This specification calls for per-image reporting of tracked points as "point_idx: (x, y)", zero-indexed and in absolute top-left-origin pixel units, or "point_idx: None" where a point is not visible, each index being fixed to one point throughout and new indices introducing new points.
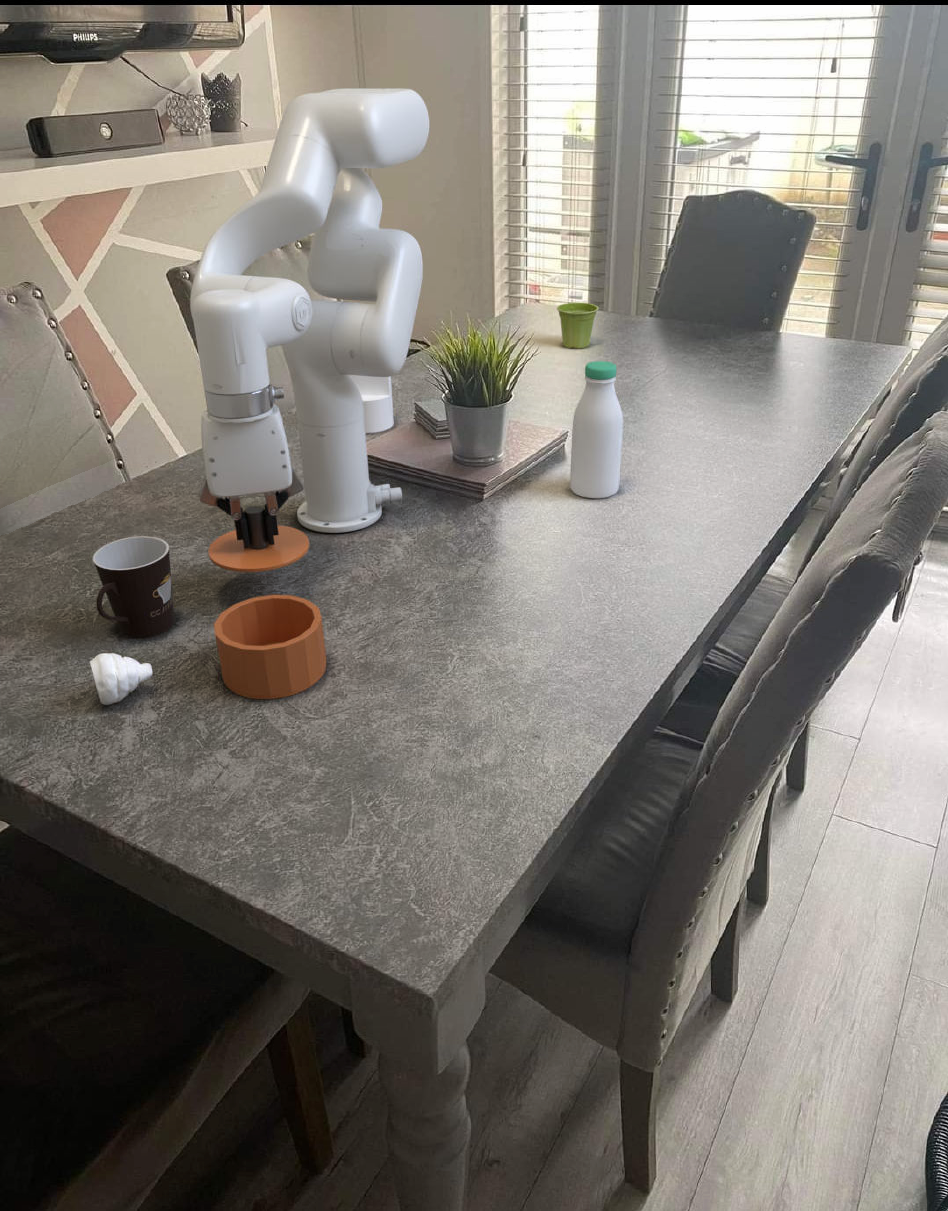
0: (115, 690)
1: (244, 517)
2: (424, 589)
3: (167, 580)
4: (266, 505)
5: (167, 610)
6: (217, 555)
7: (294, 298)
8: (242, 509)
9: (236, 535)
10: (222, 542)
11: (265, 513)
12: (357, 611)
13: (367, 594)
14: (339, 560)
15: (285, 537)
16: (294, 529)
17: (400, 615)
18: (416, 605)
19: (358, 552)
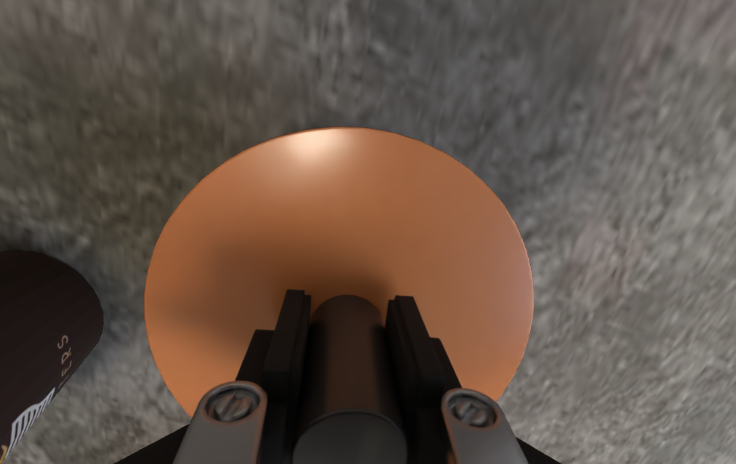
0: None
1: (287, 450)
2: (675, 372)
3: (4, 457)
4: (432, 459)
5: (63, 385)
6: (181, 353)
7: None
8: (280, 442)
9: (256, 329)
10: (205, 249)
11: (408, 440)
12: (512, 407)
13: (561, 352)
14: (578, 161)
15: (457, 294)
16: (512, 238)
17: (580, 444)
18: (626, 422)
19: (645, 133)
